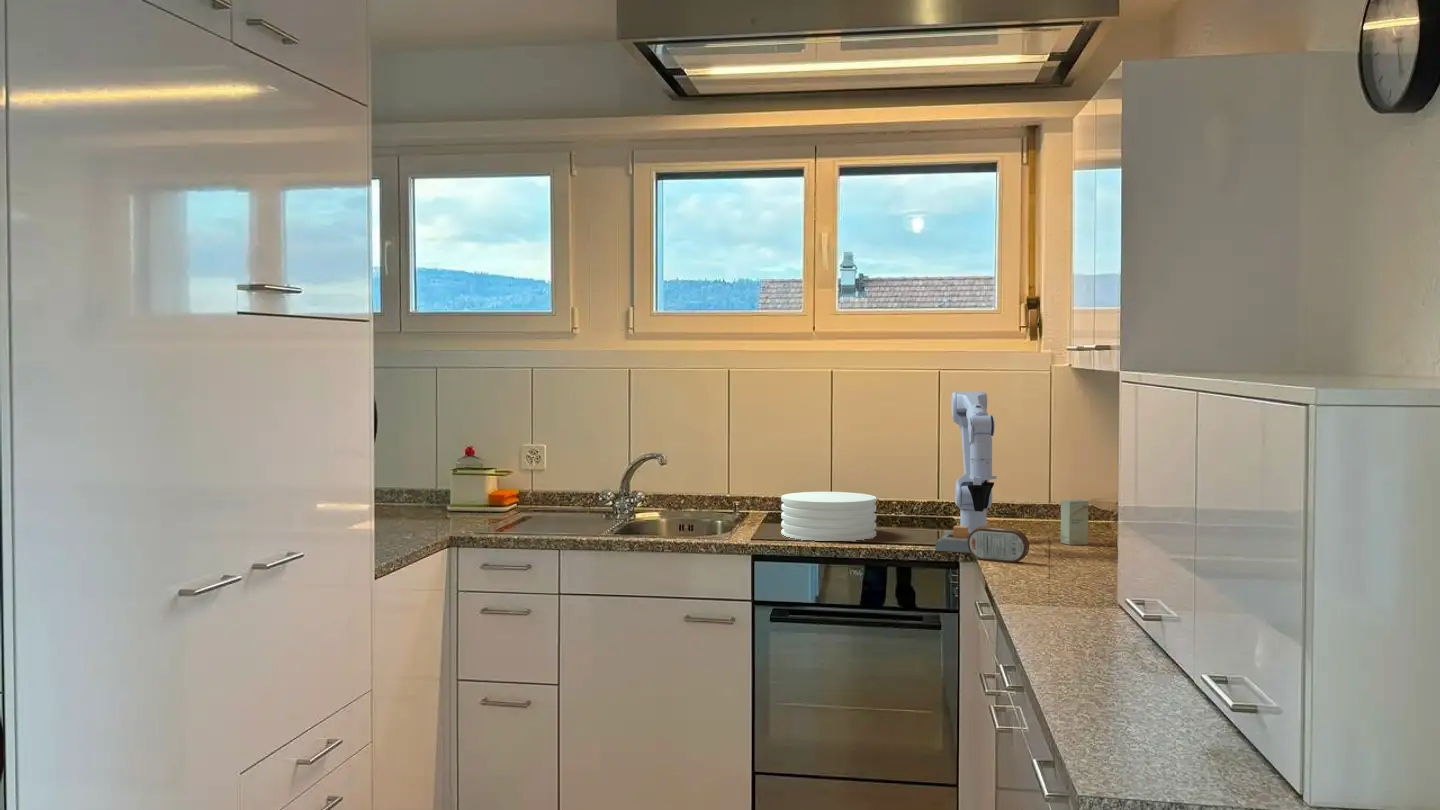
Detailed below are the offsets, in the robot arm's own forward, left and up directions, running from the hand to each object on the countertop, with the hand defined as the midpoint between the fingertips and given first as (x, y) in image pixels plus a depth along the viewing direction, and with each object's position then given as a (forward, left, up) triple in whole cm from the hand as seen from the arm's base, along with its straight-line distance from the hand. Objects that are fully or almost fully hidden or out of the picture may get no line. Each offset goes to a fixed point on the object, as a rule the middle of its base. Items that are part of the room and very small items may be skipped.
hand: (981, 510), depth 260 cm
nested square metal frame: (+3, -6, -10) cm, 12 cm away
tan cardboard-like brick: (+3, -5, -11) cm, 12 cm away
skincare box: (-18, +23, -11) cm, 31 cm away
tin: (+18, +6, -11) cm, 22 cm away
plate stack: (-8, -45, -11) cm, 47 cm away
